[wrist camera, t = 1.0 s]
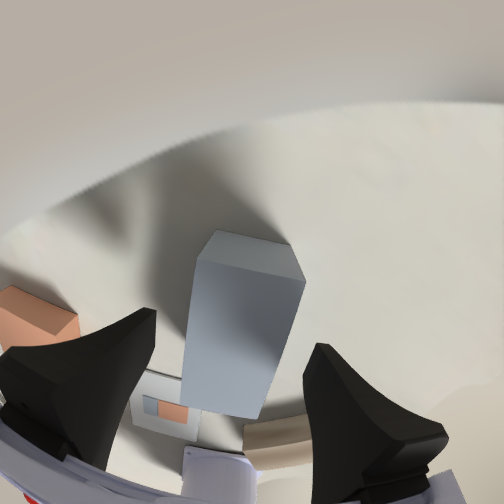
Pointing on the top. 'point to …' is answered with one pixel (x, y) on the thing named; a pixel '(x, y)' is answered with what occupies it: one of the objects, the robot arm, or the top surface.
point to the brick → (278, 443)
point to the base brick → (33, 321)
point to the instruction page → (163, 407)
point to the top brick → (238, 322)
